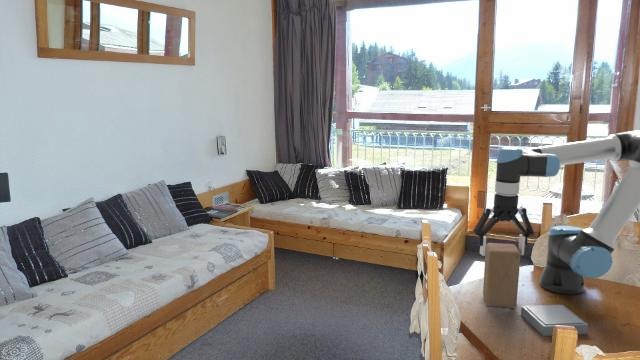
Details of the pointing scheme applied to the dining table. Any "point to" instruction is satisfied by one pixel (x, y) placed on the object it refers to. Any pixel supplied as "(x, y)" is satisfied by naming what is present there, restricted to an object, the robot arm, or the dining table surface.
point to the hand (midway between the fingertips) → (501, 254)
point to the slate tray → (552, 318)
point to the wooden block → (501, 275)
